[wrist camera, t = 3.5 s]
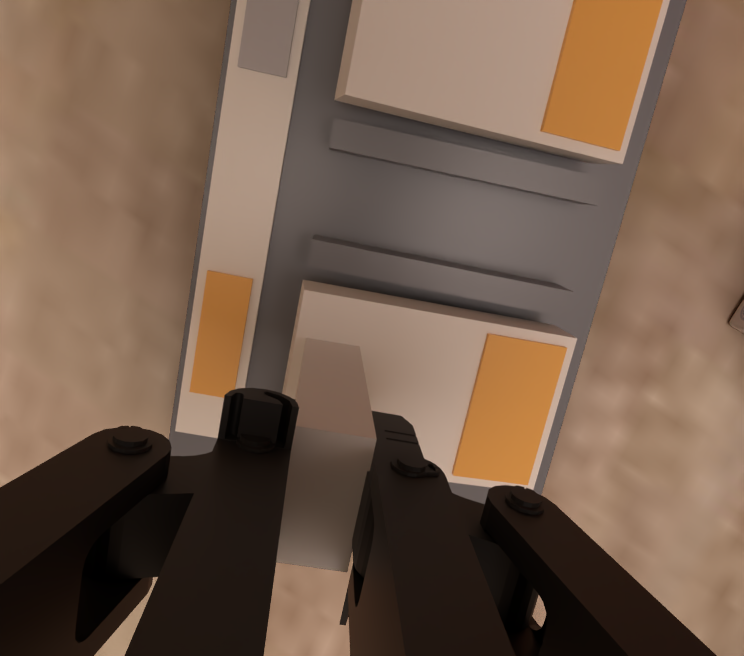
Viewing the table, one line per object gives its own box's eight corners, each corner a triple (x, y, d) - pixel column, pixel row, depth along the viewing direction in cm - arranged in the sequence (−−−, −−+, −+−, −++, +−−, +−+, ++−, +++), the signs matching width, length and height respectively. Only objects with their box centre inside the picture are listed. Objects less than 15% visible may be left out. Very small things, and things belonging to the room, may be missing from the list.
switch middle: (372, -108, 15) (389, -139, 14) (640, -15, 17) (682, -33, 16) (334, 100, 16) (346, 94, 15) (590, 163, 19) (626, 164, 17)
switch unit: (333, -559, 17) (331, -814, 13) (761, -417, 18) (894, -603, 14) (186, 432, 24) (151, 490, 19) (508, 486, 25) (545, 552, 21)
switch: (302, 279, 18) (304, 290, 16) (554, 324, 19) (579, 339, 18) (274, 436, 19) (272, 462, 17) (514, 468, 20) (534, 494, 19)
